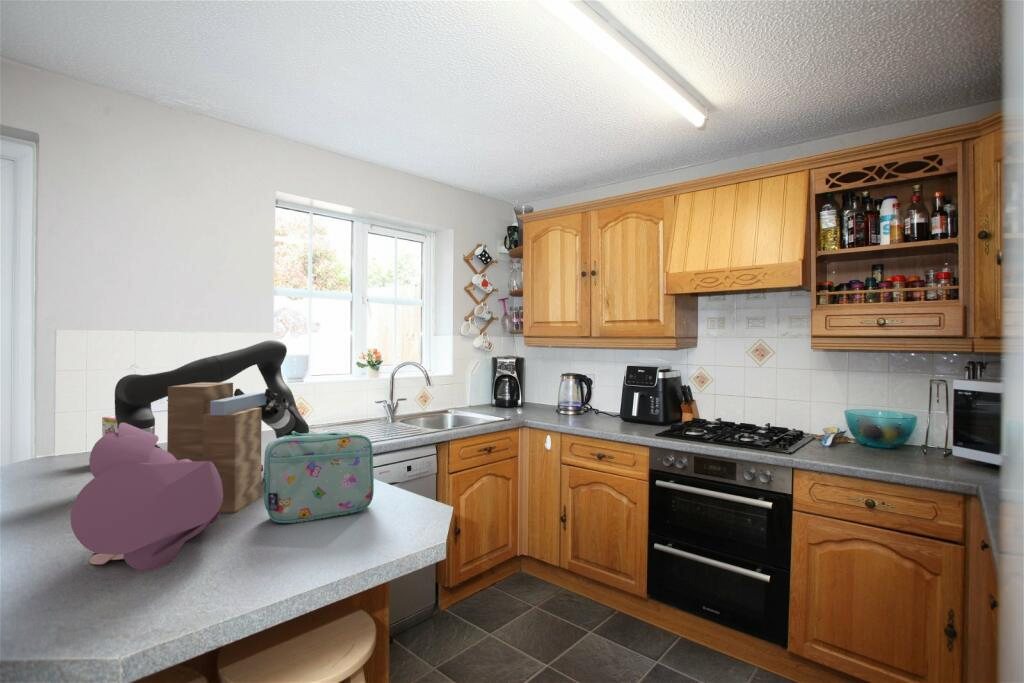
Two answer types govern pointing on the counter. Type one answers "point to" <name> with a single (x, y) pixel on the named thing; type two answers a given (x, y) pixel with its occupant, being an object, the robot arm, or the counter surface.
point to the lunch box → (317, 476)
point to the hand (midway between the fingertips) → (251, 391)
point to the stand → (217, 439)
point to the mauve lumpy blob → (143, 500)
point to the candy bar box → (109, 425)
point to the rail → (237, 403)
